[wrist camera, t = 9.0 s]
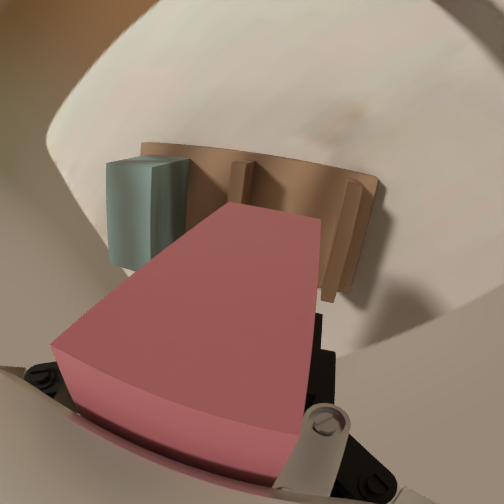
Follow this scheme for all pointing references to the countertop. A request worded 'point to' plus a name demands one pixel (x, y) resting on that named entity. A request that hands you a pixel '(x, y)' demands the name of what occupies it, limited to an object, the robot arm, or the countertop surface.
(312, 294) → the dusty red block
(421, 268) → the countertop surface
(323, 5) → the countertop surface
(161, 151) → the rack
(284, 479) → the robot arm
